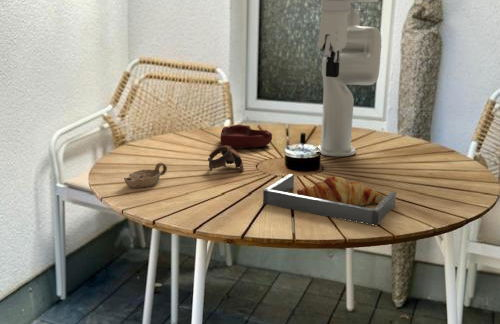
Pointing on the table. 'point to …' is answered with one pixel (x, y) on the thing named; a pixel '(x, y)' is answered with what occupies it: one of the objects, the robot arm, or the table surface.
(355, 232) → the table surface
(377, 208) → the bent metal bracket
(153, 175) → the oil lamp
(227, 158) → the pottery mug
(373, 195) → the croissant
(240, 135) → the ashtray
